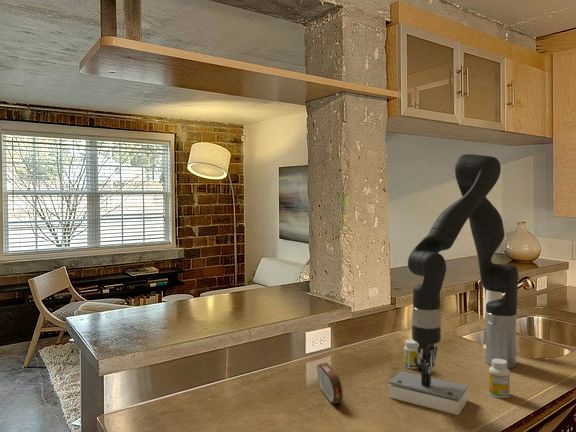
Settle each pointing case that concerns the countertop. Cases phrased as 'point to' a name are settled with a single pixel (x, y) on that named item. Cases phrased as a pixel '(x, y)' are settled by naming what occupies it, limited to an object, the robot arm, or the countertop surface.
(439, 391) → the cover
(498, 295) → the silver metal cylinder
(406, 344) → the supplement bottle
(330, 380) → the tin
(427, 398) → the white open tray
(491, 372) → the supplement bottle
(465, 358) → the countertop surface
